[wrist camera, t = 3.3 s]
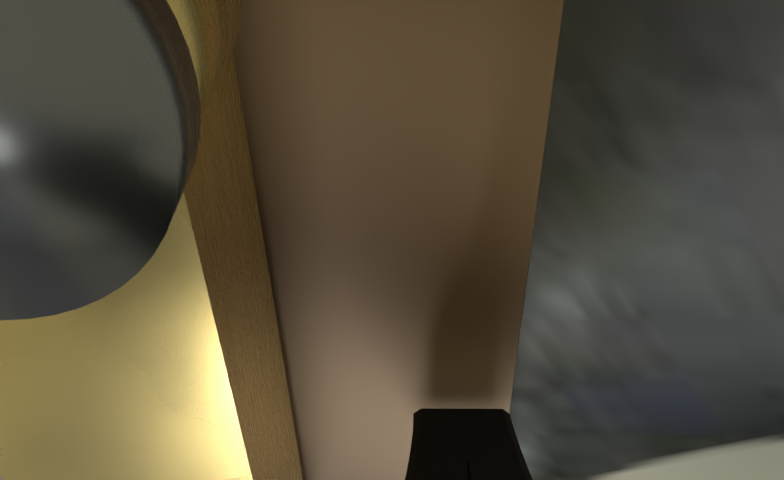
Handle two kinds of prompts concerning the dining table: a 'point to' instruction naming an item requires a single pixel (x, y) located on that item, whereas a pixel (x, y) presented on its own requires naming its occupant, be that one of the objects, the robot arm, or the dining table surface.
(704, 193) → the dining table surface
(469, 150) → the strike board
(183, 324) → the latch bar
